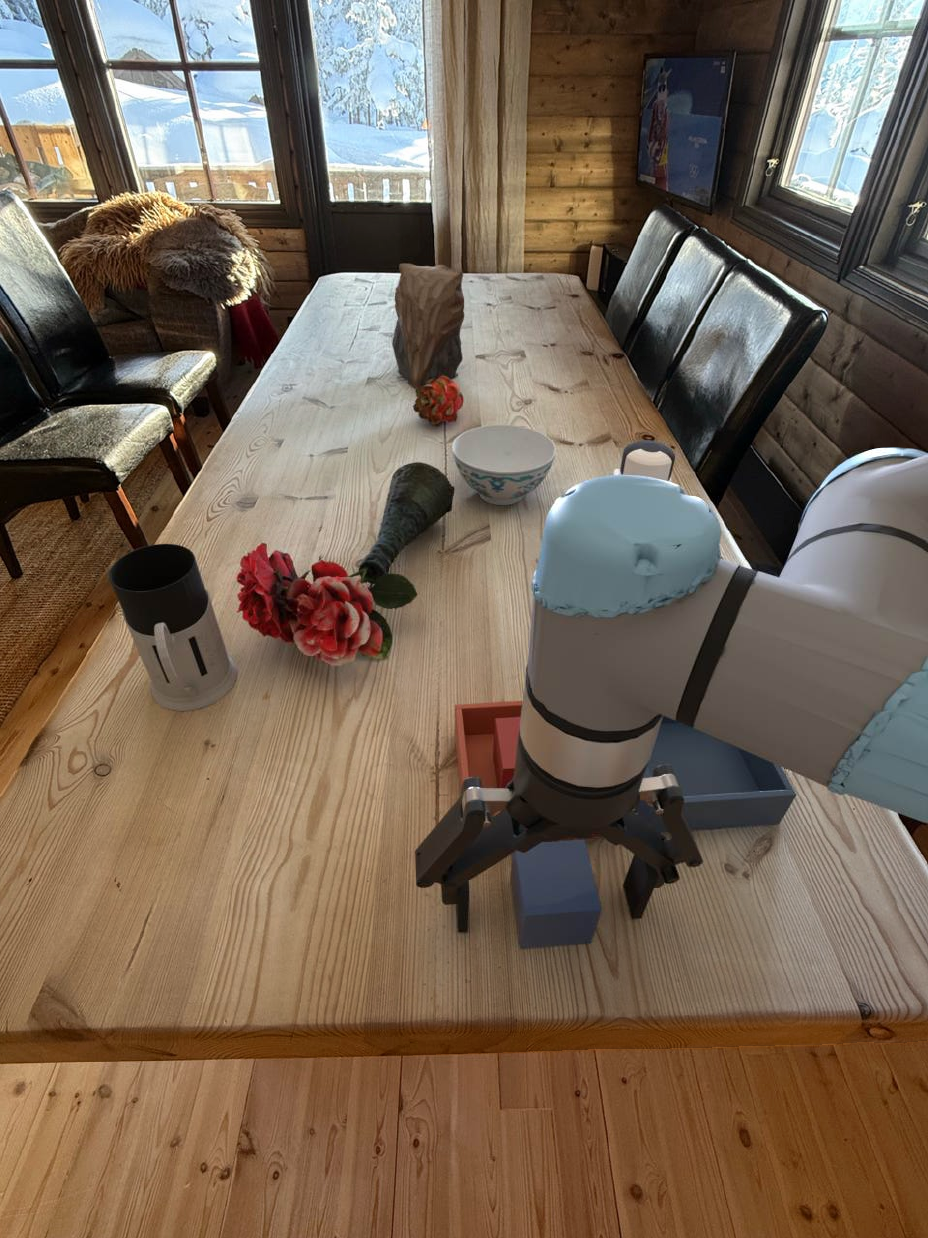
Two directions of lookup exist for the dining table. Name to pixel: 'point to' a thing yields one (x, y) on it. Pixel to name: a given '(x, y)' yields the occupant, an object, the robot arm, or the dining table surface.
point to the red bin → (482, 740)
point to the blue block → (554, 895)
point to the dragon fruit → (438, 400)
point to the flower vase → (345, 579)
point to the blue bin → (717, 781)
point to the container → (647, 460)
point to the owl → (428, 323)
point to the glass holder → (173, 626)
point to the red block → (505, 749)
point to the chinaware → (503, 461)
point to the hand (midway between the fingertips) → (547, 908)
